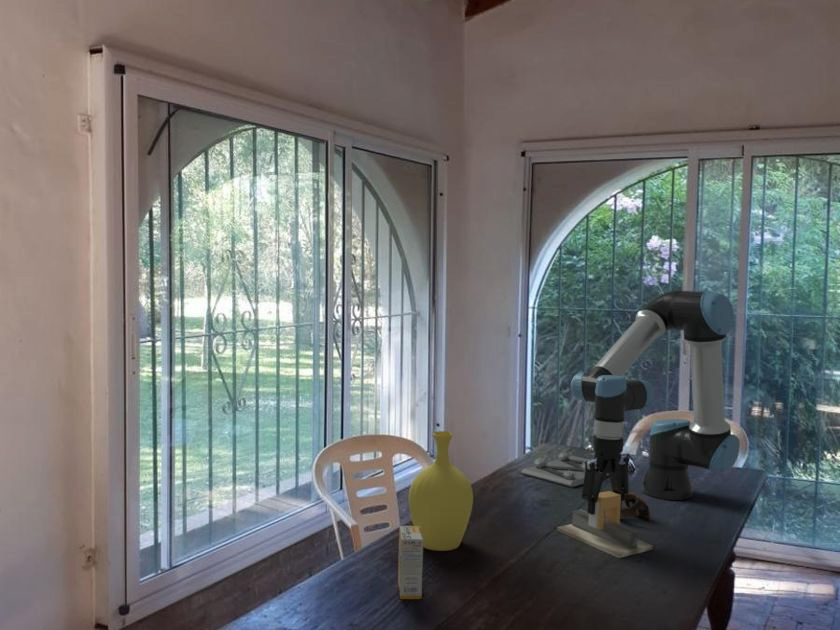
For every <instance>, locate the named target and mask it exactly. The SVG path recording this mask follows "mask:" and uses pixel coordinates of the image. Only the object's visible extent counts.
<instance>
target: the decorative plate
mask: <svg viewBox="0 0 840 630" xmlns="http://www.w3.org/2000/svg"><path fill="white" fill-rule="evenodd" d="M557 457H558V458H557V459H555V460H551V461H546V459H545V457H544V458H543V459H542V458H541V457H539V458H536V459H534V462H532V463H533V466H529V467H526V468H525V467H524V468H523V469H521V471H520V472H521V474H522V475H524V476H527V477H530V478H535V479H539V480H542V481H546V482H548V483H549V482H550V483H553V484H557V485H561V486H564V487H568V488H577V487H579V486H583V484H584V477H585V461H586V460H587V461H591V460H592V459H591V458H590V459H589V458H584V457H580V456H576V455H571V454H569V452H567V451H566V452H565V451H563V452H560V453H559V455H557ZM599 473H602V472H599ZM607 476H608V477H609V473H607V475H606V477H605V478H607Z"/></svg>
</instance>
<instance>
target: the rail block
mask: <svg viewBox="0 0 840 630" xmlns="http://www.w3.org/2000/svg"><path fill="white" fill-rule="evenodd" d="M588 520H589V514H588V510H587V511H586V510H584V509H581V508H580V509H576V510H572V523H571V524H565V525H561V526H556V532H559V533H561V534H564V535H566V536H568V537H570V538H572V539H575V540H577V541H578V542H581V543H584V544H586V545H588V546H590V547H593V548H594V549H597V550H600V551H601V552H604V553H606V554H609V555H610V556H613V557H615V558H617V559H621V558H624V557H625V558H626V557H628V556H633V555H636V554H641V553H645V552H648V551H649V552H650V551H653V549H654V546H653V545H652V544H649V543H647V542H645V541H642V540H640V539H639V531H637V530H634V529H632V528H630V527H627V526H624V525H622V524H621V523H619V524H617V523H615V522H612V521H610V520H607V519H605V518H604V523H603V529H597V528H594V527H592V526H589V525H588Z"/></svg>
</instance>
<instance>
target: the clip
mask: <svg viewBox="0 0 840 630" xmlns="http://www.w3.org/2000/svg"><path fill="white" fill-rule="evenodd" d="M592 497H593V496H592ZM597 502H599V517H598V528H597V529H603V523H604V519H607V520H610V521H612V522H615V523H617V524H620V523H619V522H620V521H621V517H620V503H621V495H620V494H617V493H614V492H613V491H611V490H608V491H602V492H601V491H600V492H599V496H598V499H597Z"/></svg>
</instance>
